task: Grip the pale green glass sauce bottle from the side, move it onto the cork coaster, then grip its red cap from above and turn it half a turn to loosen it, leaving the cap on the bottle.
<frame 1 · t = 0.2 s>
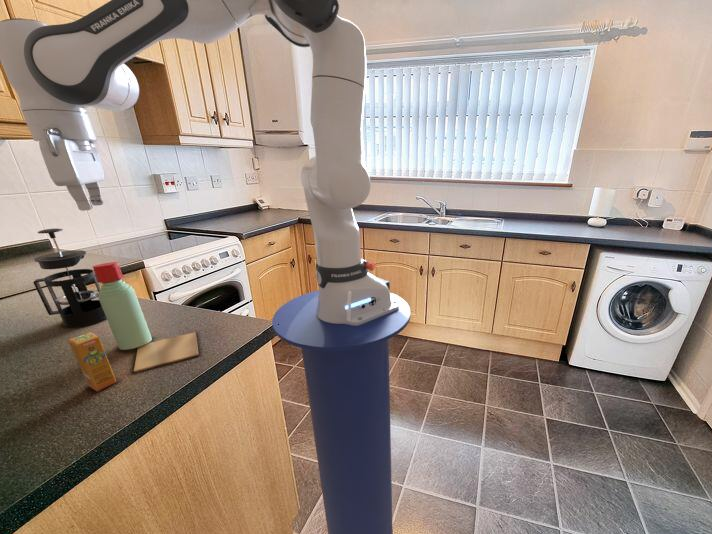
hand: (92, 207, 68), 29 cm above the table, tool pointing down, fingers open, 8 cm apart
french press: (86, 320, 86), on the table
sauce bottle: (136, 343, 74), on the table, tilted 6°
supplement box: (104, 385, 62), on the table
cork coaster: (168, 351, 72), on the table
red cap: (106, 266, 68), point 18 cm above the table, tilted 6°, screwed on, not yet turned
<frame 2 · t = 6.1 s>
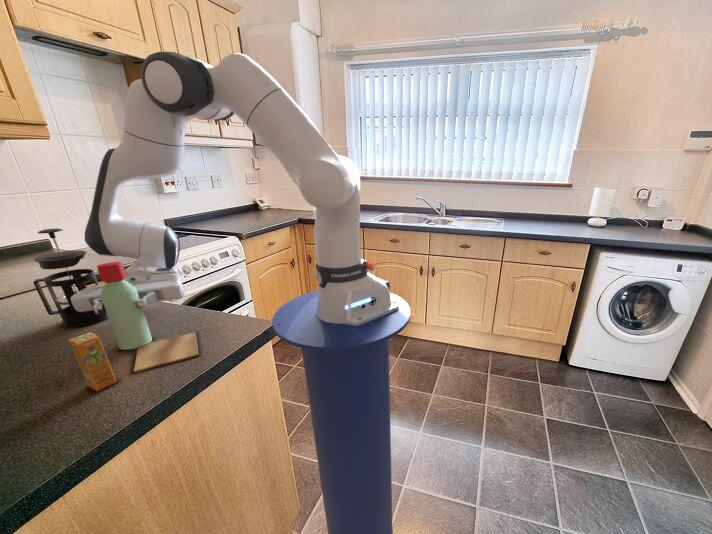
hand: (120, 307, 70), 10 cm above the table, tool horizontal, fingers closed on sauce bottle, 6 cm apart
sauce bottle: (135, 343, 74), on the table, tilted 5°, touching cork coaster, gripper
everything else where it was.
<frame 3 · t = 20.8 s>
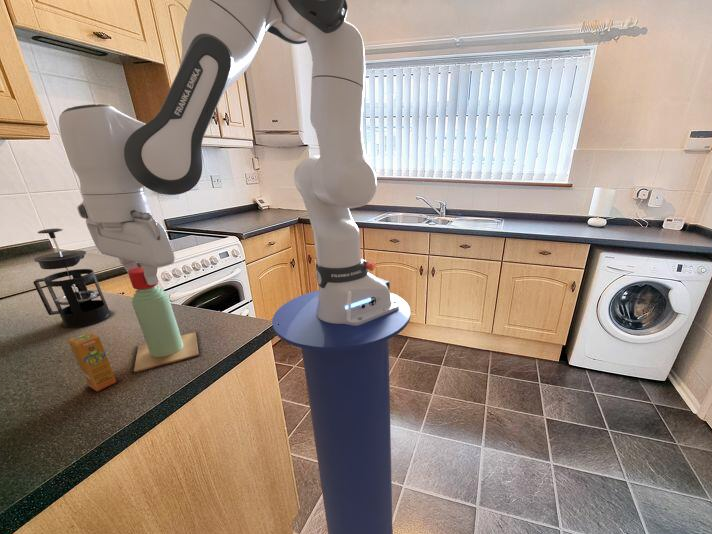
hand: (144, 281, 66), 16 cm above the table, tool pointing down, fingers closed on red cap, 4 cm apart
sauce bottle: (167, 349, 72), resting on cork coaster
red cap: (141, 271, 65), point 18 cm above the table, screwed on, not yet turned, touching gripper
everything else where it was.
when the fingers open (14 cm above the table, at t = 25.9 s): red cap stays where it is, point 18 cm above the table.
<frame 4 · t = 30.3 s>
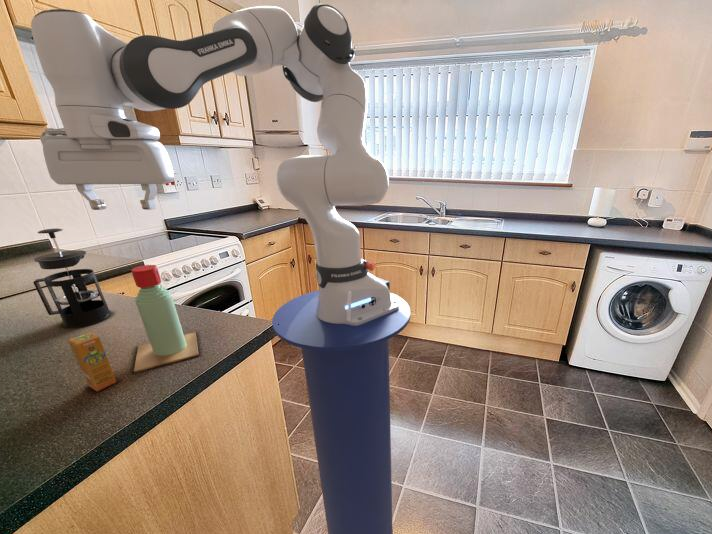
hand: (124, 209, 64), 29 cm above the table, tool pointing down, fingers open, 8 cm apart
red cap: (144, 270, 65), point 18 cm above the table, turned 179° so far, risen 0.2 cm, still on its thread
everything else where it was.
at the end: sauce bottle 0.5 cm off-centre on the cork coaster, point 0.4 cm above the cork coaster's base; red cap turned 0.50 turns (still on its thread); red cap is still on its thread (0.50 turns) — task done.
